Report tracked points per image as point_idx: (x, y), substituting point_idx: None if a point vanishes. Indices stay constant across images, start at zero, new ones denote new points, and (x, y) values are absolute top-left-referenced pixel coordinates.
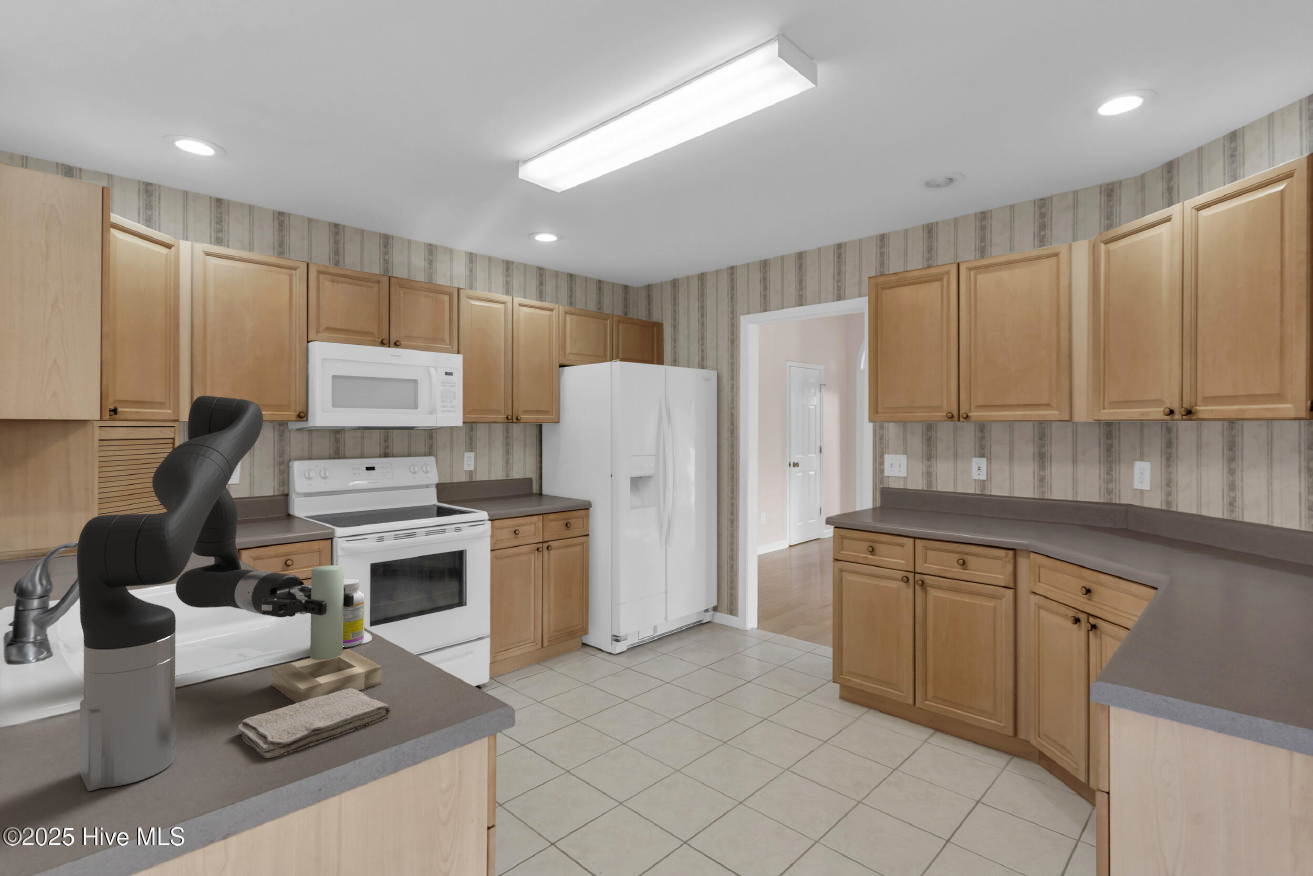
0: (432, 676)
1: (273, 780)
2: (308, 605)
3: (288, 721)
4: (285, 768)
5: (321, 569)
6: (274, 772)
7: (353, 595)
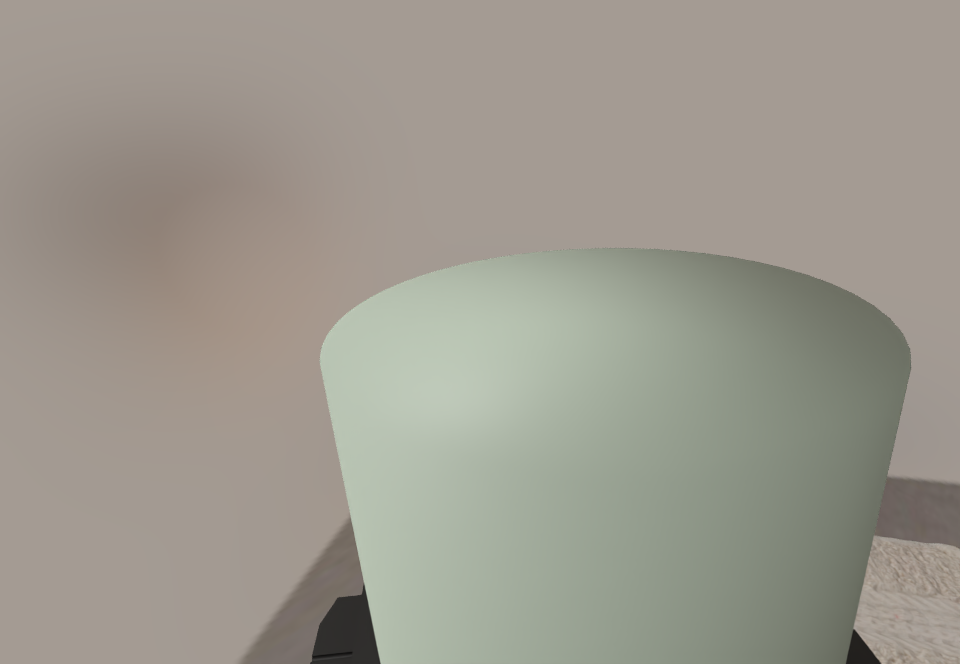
0: (280, 658)
1: (946, 504)
2: (872, 661)
3: (918, 639)
4: (917, 524)
5: (710, 312)
6: (946, 527)
7: (338, 598)
